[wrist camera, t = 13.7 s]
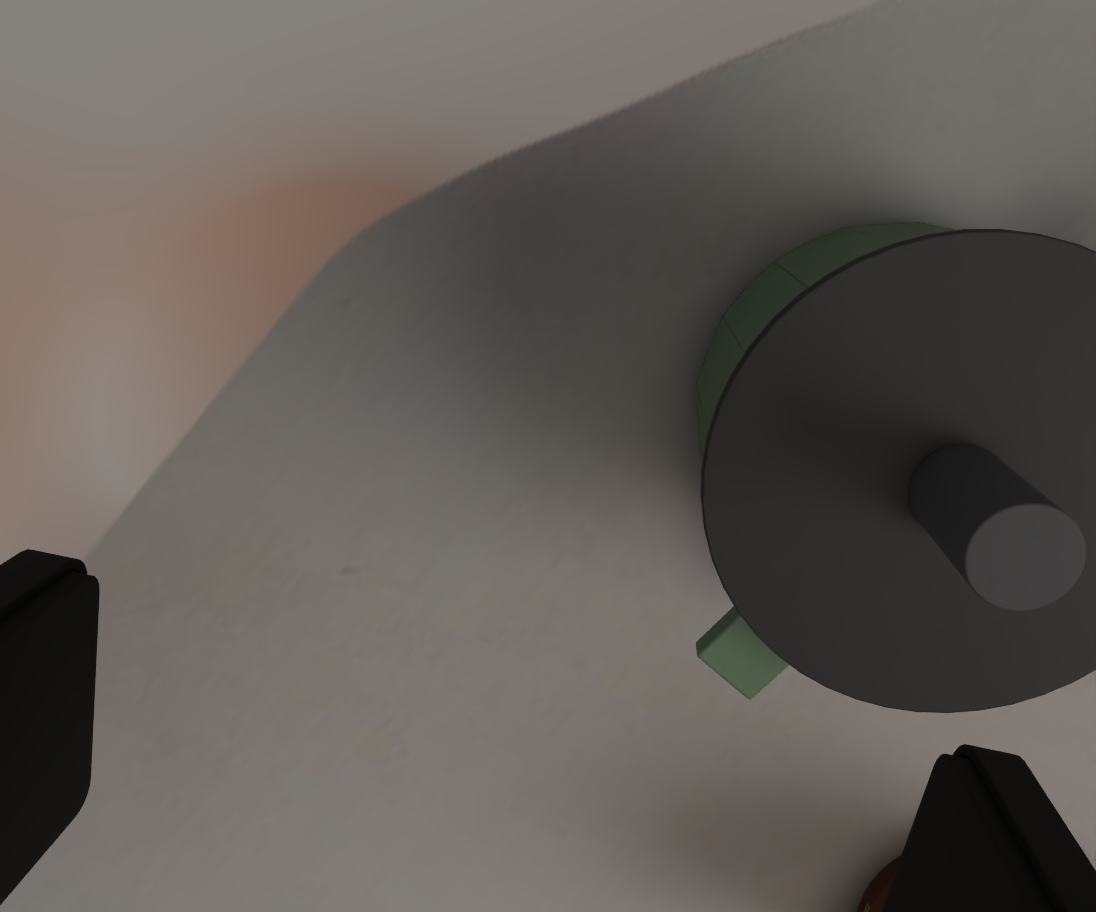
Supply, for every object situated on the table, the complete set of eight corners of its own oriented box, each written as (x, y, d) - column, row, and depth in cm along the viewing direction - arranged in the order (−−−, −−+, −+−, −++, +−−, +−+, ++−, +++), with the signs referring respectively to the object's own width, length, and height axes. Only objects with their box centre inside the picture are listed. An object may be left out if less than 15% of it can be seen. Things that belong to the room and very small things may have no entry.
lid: (600, 493, 30) (592, 574, 24) (960, 112, 26) (1056, 98, 20) (933, 774, 32) (1001, 914, 26) (1317, 460, 28) (1500, 541, 22)
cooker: (580, 465, 39) (564, 557, 30) (936, 81, 34) (1046, 53, 25) (823, 671, 41) (877, 816, 32) (1197, 336, 36) (1388, 395, 27)
